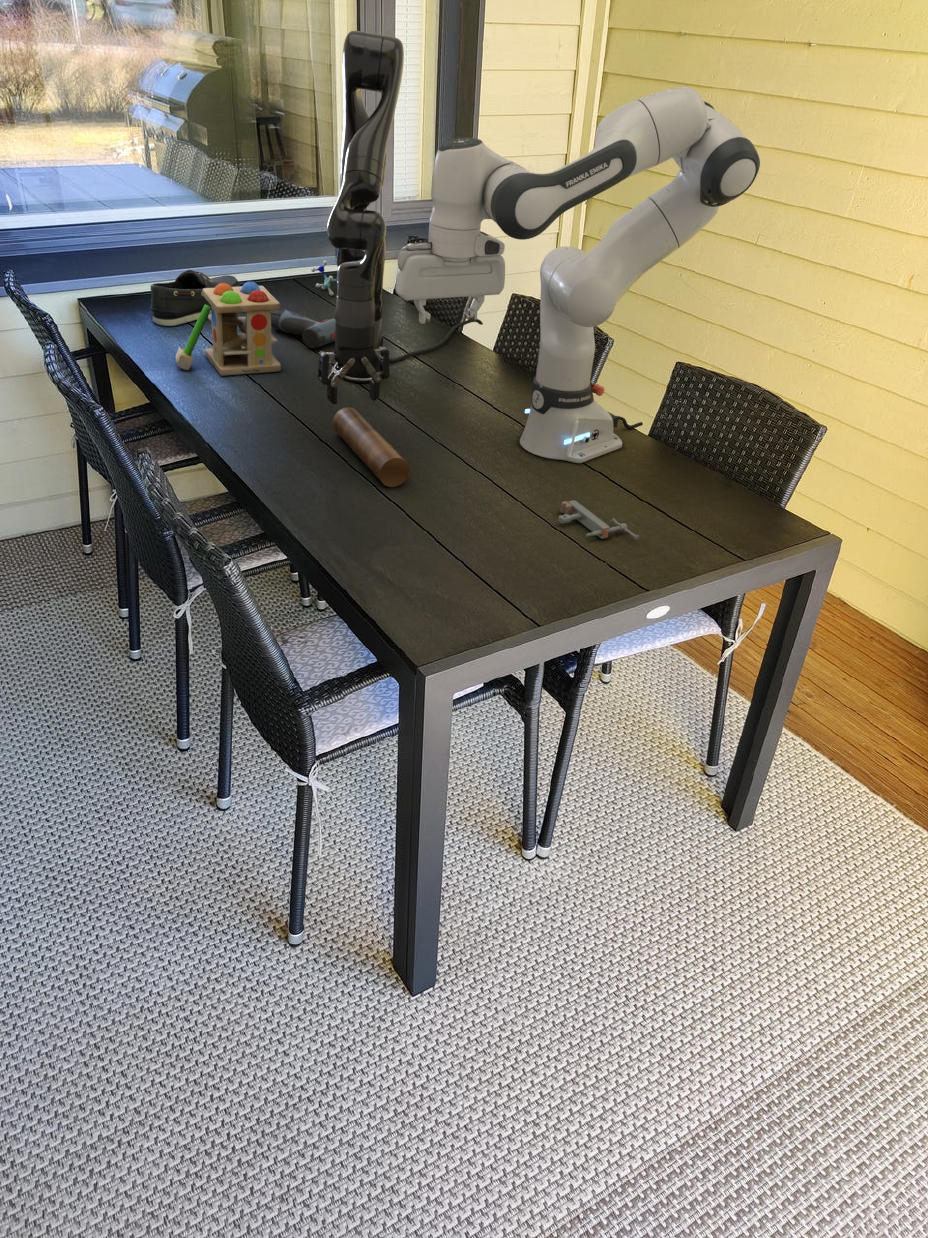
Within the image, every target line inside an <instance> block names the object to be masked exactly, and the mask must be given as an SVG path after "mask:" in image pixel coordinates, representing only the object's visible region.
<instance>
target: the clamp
mask: <svg viewBox="0 0 928 1238" xmlns="http://www.w3.org/2000/svg"><path fill="white" fill-rule="evenodd" d="M559 513H561V514H562V515H559V516H558V523H560V524H563V525H564V524H568V523H571V522H572V521H575V520H576V521H578V522H579V523H580V524H582V525H583V526H584V527H585V528H587V529H588V530H590V532H588V533H586V534H585V537H586V538H587V537H595V536H597V537H598V538H599V539H602V540H603V539H607V538H609V533H613V532H617V531H618V532H626V533H627V534H628V535H630V536H631V537H632V538H633V539H634V540H635V541H638V540H639V539H640V535H639V534H635V533H634V532H632V531H631V530H630V529H628V525H627V523H625V522H624V523H620V522H618V521H617V519H616V518H612V519H611V520H610V522H611V524H614V525H616V526H613V527H611V526H609V525H608V524H607V523H606V522H604V521H603V520H602V519H601V518H599V517H598V516H597V515H595V514H594V513H592V512H591V511H590V510H589V509H588V508H586V507H585V506H583V505H582V504H581V503H580V502H578V501H577V500H573V499H572V500H569V501H567V500H565V501H562V502H561V503H560V510H559Z"/></svg>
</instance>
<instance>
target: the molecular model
mask: <svg viewBox="0 0 928 1238" xmlns="http://www.w3.org/2000/svg"><path fill="white" fill-rule="evenodd" d="M327 265H328V261H327V260H323V261H322V265H319V266H318V267H316V268H315V267H311V268H310V271H311V272H312V273H314V272H317V271H318V272H319V273H321V274H322V275H323V277H324V283H318V282H317V283H315V287H316V288H317V289H319V288H320V287H321V289H322V290H323V291H324V290H326V289H327V290H328V293H329V296H331V297H332V296H334V294H335V293H334V292H333V291H332V289H331V283H333V282H337V278H334V276H333V275H329V277H327V275H326V273H325V266H327Z"/></svg>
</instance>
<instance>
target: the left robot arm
mask: <svg viewBox="0 0 928 1238" xmlns="http://www.w3.org/2000/svg"><path fill="white" fill-rule="evenodd" d="M341 59H342V60H341V62H342V67H341V68H342V69H341V71H342V72H341V73H342V75H341V76H342V78H341V79H342V129H341V143H340V154H339V155H340V157H339V193H338V197H337V199H336V201H335V203H334V205H333V208H332V210H331V212H330V215H329V216H328V217H329V218H328V221H327V225H326V235H327V240H328V241H329V243H330V245H332V246H333V248H334V250H335V251H334V254H335V255H334V256H335V264H336V266H337V272H336V279H337V281H336V301H335V309H334V310H335V311H334V319H335V341H334V346H335V347H334V350H333V351H332V352H330V351H329V352H326V351H324V350H320V351H318V362H317V363H318V364H317V380H318V381H319V382H320V383H321V384H322V385H324V386H325V385H326V399H327V401H329V402H330V403H331V405H337V404H338V386H337V385H338V384H339V382H340V380H341V379H342V380H345V381H348V382H352V383H359V384H360V383H361V384H364V383H365V384H366V383H367V384H369V399H370V400H371V401H373V402H374V401H378V398H379V397H380V393H381V391H380V390H381V389H380V388H381V382H382V381H383V380H389V378H390V364H394V363H398V362H401V361H403V360H405V359H408V358H411V357H415V356H418V355H422V354H427V353H429V352H432V351H434V350H437V349H439V348H440V347H441V346H443V345H444V344H446V342H447V341H448V339H449V338H450V337H451V335H452V334H453V333H454V332H455V331H456V330H457V329H458V328H461V327H463V326H465V325H468V324H471V323H477V324H478V325H480V326H481V325H482V326H483V325H484V323H483V321H482V320H480V319H479V318H477V320H468V319H466V320H464V321H461V322H459V323H457V324H455V325H453V326H452V328H450V330H449V331H448V332H447V334H446V335H445V336H444V338H443V339H441V340H440V341H439V342H438V343H436V344H434V345H433V346H430V347H427V348H424V349H419V350H415V351H411V352H407V353H405V354H403V355H400V356H398V357H395V358H390V351H389V350H388V349H387V348H386V347H385V346H384V335H383V334H382V323H383V292H384V291H383V288H384V273H385V272H384V271H385V264H386V263H385V262H386V251H387V250H386V249H387V247H386V244H387V243H386V234H387V224H386V223H387V222H386V221H385V218H384V217H383V215H382V214H381V213H380V212H378V211H376V210H369V209H367V208H368V207H369V206H370V204H371V203H374V202H376V201H378V199H380V196H381V191H382V189H383V186H384V184H385V180H386V171H387V159H388V153H387V147H388V142H389V138H390V133H391V130H392V126H393V123H394V118H395V113H396V109H397V106H398V105H397V104H398V99H399V94H400V91H401V90H400V89H401V85H402V79H403V73H404V63H405V52H404V44H403V42H402V41H401V39H400V38H397V37H395V36H392V35H386V34H381V33H375V32H369V31H361V30H350V31H349V32H347V34H346V36H345V38H344V41H343V48H342V58H341ZM362 90H363V91H371V92H376V93H381V96H380V98H379V101H378V103H377V105H376V107H375V109H374V110H373V112H372V113H371V115H369V113H368V111H367V108H366V106H365V103H364V98H363V94H362ZM333 360H335V364H334V365H333V366H332V369H331V371H330V373H329V369H330V368H329V367H330V365H331V364H332V361H333Z"/></svg>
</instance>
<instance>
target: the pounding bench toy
mask: <svg viewBox="0 0 928 1238" xmlns="http://www.w3.org/2000/svg"><path fill="white" fill-rule="evenodd" d="M203 296H204V297H205V299H206V300H207V301H208V302H209V304H210V305H211V307H210V306H208V305H204V307H203V309H202V311H201V314H200V316H199V318H198V319H197V320H196V322H195V324H194V327H193V329H192V331H191V332H190V333H191V334H190V336H189V338H188V340H187V343H186V344H185V347H184V348H182V347H180V346H179V347H178V349H177V351H176V354H175V357H174V358H175V362H176V365H177V366H178V368H179V369H182V370H185V371H189V370H190V369H191V367H192V365H193V363H194V356H193V351H194V348H195V347H196V345H197V342H198V340H199V337H200V336H201V333H202V332H203V329H204V326H205V325H206V322H207V320H209V321H210V322H211V336H212V337H211V338H212V339H211V340H212V348H205V349H204V352H205V353H204V355H205V357H206V359H208V361H209V363H210V364H211V365H212V366H213V367H214V369H215V370H216V371H217V372H218V374H219V375H220V376H222V377H223V376H234V375H235V376H236V375H246V374H247V375H250V374H262V373H275V372H281V370H282V364H281V363H280V362H279V360H278V359H277V358H276V357H275V356H274V355H273V348H272V347H273V345H272V344H276V343H278V342H279V341H278V339H277V338H276V337H275V336H274V334H272V327H271V310H280V309H281V304H280V301H278V300H277V299H276V297H274V296H273V295H272V294H271V293H270V292H269V290H268V289H267V288H266V287H264V285H259V284H257V283H256V282H255V281H247V282H245V283H244V284H243V285H242V286H240V287H231V286H230V285H228V284H226V283H221V284H218V285H217V286H216V287H215V288H204V289H203ZM210 310H211V313H209V312H210ZM238 313H244V314H245V315H244V316H238ZM238 329H239V331H240V333H239V334H238Z"/></svg>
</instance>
